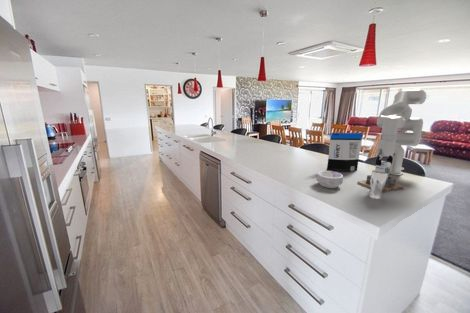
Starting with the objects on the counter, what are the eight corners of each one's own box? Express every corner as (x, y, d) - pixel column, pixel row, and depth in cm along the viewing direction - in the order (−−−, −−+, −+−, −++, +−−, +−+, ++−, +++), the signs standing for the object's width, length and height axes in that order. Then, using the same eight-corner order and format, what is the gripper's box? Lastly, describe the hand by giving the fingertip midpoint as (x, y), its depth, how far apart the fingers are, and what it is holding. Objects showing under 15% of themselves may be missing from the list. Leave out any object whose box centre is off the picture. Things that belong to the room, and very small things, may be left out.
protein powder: (360, 172, 165) (366, 133, 158) (329, 171, 165) (333, 133, 158) (353, 168, 174) (359, 132, 167) (324, 168, 174) (328, 132, 167)
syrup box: (382, 185, 132) (385, 163, 128) (372, 182, 137) (376, 161, 134) (387, 184, 134) (391, 162, 131) (378, 181, 139) (381, 160, 136)
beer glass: (364, 195, 121) (368, 170, 118) (376, 194, 122) (380, 169, 118) (373, 200, 114) (378, 174, 111) (385, 200, 115) (390, 173, 111)
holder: (378, 180, 146) (380, 172, 145) (403, 188, 132) (405, 179, 130) (357, 183, 140) (358, 174, 138) (380, 192, 125) (382, 183, 123)
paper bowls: (311, 183, 139) (312, 172, 137) (328, 180, 145) (329, 169, 143) (329, 191, 126) (330, 179, 124) (347, 188, 131) (349, 176, 130)
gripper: (391, 135, 135) (387, 161, 139) (372, 137, 129) (368, 164, 133) (404, 137, 128) (399, 164, 132) (384, 139, 122) (379, 167, 126)
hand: (383, 164), depth 133 cm, fingers open, 9 cm apart
